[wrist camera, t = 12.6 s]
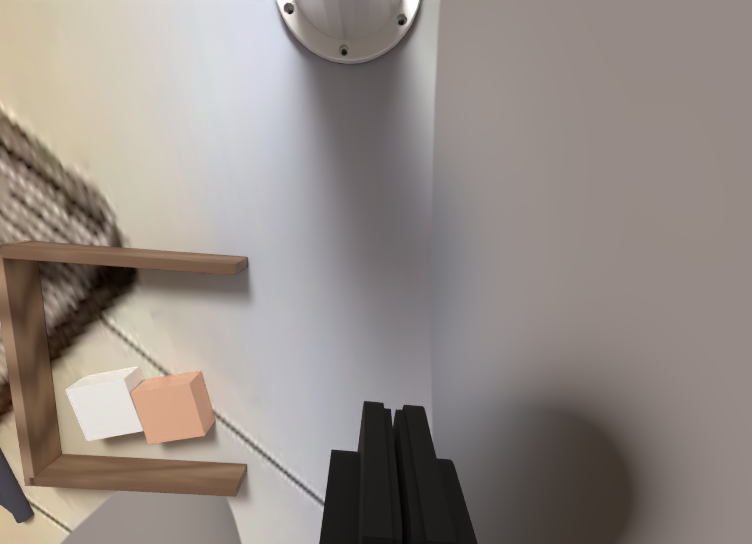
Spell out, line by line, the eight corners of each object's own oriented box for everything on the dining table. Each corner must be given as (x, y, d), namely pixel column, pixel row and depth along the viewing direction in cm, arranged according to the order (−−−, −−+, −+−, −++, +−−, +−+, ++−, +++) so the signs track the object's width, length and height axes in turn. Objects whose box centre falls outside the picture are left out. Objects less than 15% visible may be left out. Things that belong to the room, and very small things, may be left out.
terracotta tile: (148, 377, 40) (130, 392, 37) (202, 369, 40) (189, 383, 37) (163, 426, 42) (148, 444, 39) (216, 418, 41) (204, 435, 38)
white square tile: (87, 374, 40) (65, 389, 37) (141, 364, 40) (123, 378, 37) (106, 423, 41) (86, 441, 38) (159, 413, 41) (143, 431, 38)
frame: (24, 240, 36) (-11, 246, 33) (247, 257, 37) (235, 264, 34) (53, 461, 42) (25, 485, 38) (246, 471, 43) (235, 496, 39)
